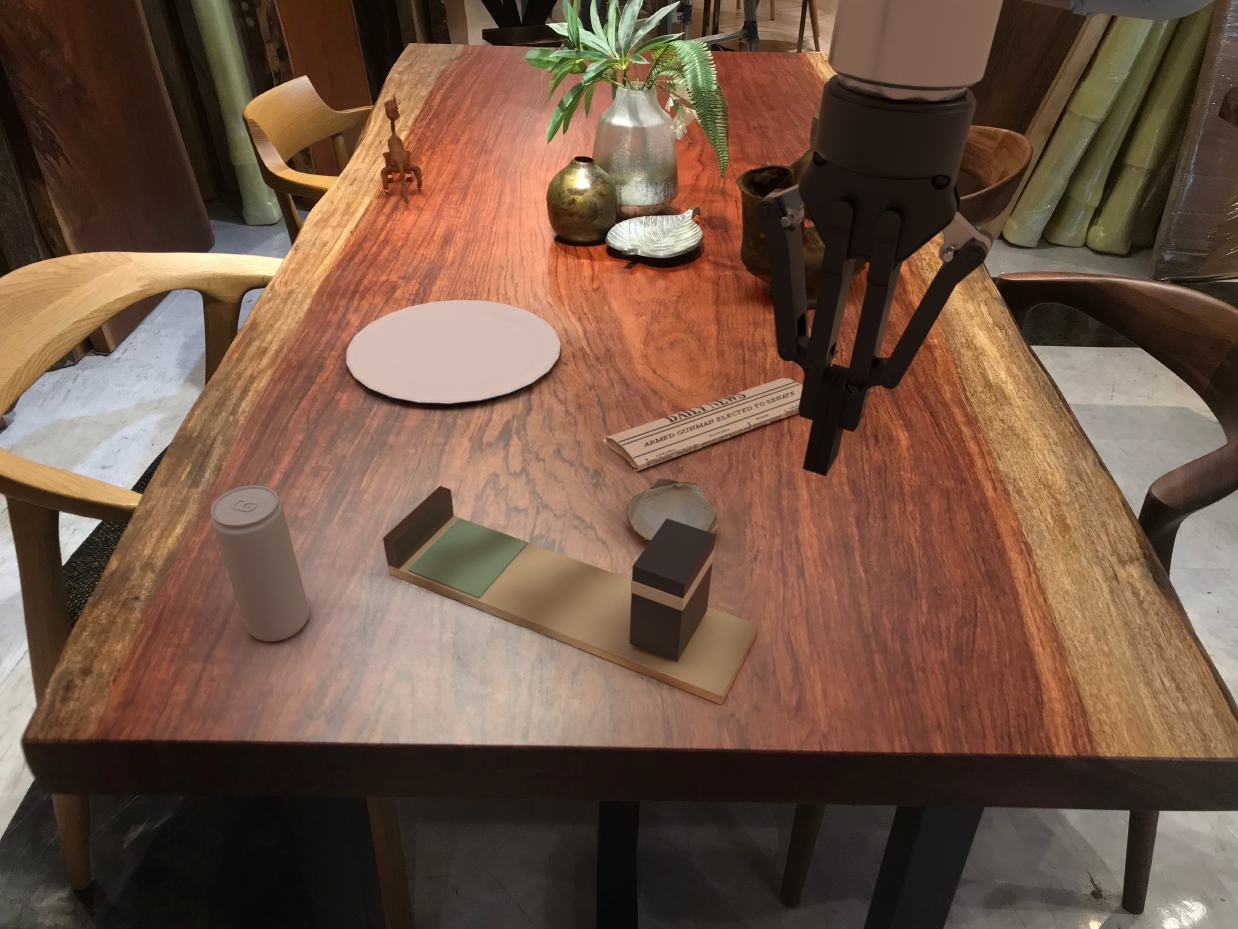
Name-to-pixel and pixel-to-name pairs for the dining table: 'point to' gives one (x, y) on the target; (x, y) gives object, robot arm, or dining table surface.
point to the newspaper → (706, 423)
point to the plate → (453, 352)
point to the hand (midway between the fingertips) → (820, 461)
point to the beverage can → (260, 561)
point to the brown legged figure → (397, 155)
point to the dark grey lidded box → (671, 588)
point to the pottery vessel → (754, 241)
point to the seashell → (671, 508)
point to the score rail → (555, 596)
